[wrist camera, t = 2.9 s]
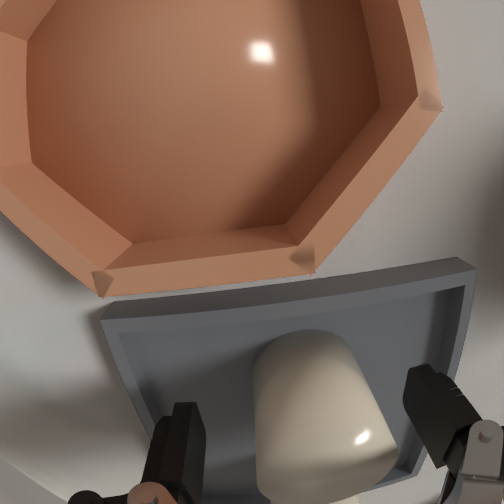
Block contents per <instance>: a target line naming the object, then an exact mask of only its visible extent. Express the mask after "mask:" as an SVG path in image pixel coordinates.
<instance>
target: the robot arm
mask: <svg viewBox="0 0 504 504" xmlns="http://www.w3.org/2000/svg"><path fill="white" fill-rule="evenodd" d="M403 406H404V409H405V411H406V413H407V415H408V416H409V418H410V420H411V422H412V424H413V426H414V427H415V429H416V431H417V433H418V435H419V437H420V438H421V440H422V442H423V444H424V446H425V448H426V450H427V451H428V453H429V455H430V457H431V459H432V461H433V463H434V465H435V467H436V469H438V468H440V467H442V466H445V465H447V467H448V469H449V470H448V472H447V474H446V478H445V481H444V485H443V488H442V491H441V495H440V498H439V501H438V504H501V502H502V499H503V501H504V426H500V425H499V424H498V423H496V422H494V421H492V420H483V419H482V418H481V417H480V415H479V414H478V413H477V411H476V410H475V409H474V407H473V406H472V405H471V403H470V402H469V401H468V400H467V398H466V397H465V396H464V395H463V393H462V392H461V390H460V389H459V388H457V385H456V384H455V383H454V382H453V380H452V379H451V378H450V377H448V376H447V375H445V374H443V373H442V372H438V373H436V372H435V371H434V369H433V368H432V367H431V366H430V364H428V363H425V364H422V365H418V366H415V367H411V368H409V370H408V373H407V378H406V383H405V388H404V392H403ZM205 453H206V431H205V427H204V424H203V421H202V418H201V415H200V412H199V409H198V406H197V403H196V402H195V401H194V402H175V404H174V407H173V412H172V416H162V418H161V419H160V420H159V421H158V423H157V424H156V425H155V428H154V432H153V436H152V440H151V443H150V448H149V451H148V456H147V460H146V464H145V468H144V472H143V476H142V480H141V482H140V484H138V485H136V486H135V487H133V488H132V489H131V490H130V492H129V493H128V494H125V495H120V496H113V497H106V498H102V497H101V496H100V495H99V494H97V493H96V492H93V491H89V490H85V491H80V492H77V493H75V494H74V495H73V496H72V497H71V498H70V500H69V501H68V504H201V502H202V489H203V477H204V464H205Z"/></svg>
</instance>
